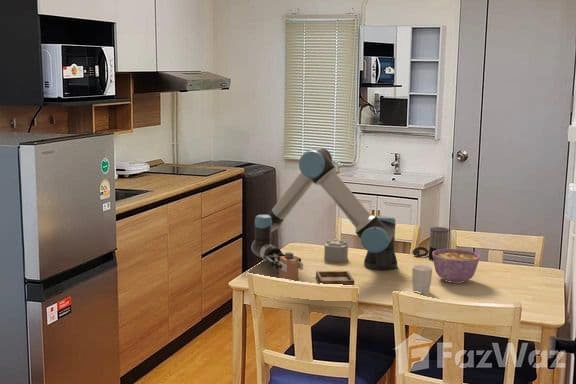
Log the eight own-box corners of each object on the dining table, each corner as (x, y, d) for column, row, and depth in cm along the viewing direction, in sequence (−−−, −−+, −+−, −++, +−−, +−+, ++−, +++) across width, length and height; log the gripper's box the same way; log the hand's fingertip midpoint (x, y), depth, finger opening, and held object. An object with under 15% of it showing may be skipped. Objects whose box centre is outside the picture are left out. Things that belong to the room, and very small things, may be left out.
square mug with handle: (291, 275, 310) (292, 255, 309) (299, 280, 303) (300, 259, 302) (279, 277, 308) (279, 256, 306) (287, 281, 301) (287, 261, 299)
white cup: (430, 295, 287) (432, 271, 286) (410, 293, 289) (412, 269, 287) (430, 289, 295) (432, 266, 293) (411, 288, 297) (412, 264, 295)
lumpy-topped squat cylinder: (322, 260, 336) (322, 242, 334) (329, 253, 348) (329, 236, 346) (343, 262, 333) (344, 244, 331) (350, 256, 345) (350, 238, 343)
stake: (290, 277, 308) (290, 252, 306) (292, 278, 306) (293, 253, 304) (284, 277, 307) (285, 252, 305) (287, 279, 305) (288, 254, 303)
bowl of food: (447, 271, 323) (449, 246, 321) (487, 281, 309) (489, 255, 307) (421, 279, 309) (422, 253, 307) (461, 290, 295) (463, 263, 293)
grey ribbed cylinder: (449, 262, 338) (451, 231, 335) (415, 261, 338) (417, 230, 336) (443, 254, 352) (445, 224, 349) (411, 253, 352) (412, 223, 350)
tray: (348, 276, 311) (348, 271, 310) (354, 286, 297) (354, 280, 297) (315, 276, 309) (316, 271, 309) (320, 286, 296) (320, 280, 295)
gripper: (291, 260, 326) (314, 273, 306) (250, 264, 317) (272, 278, 297) (291, 244, 325) (315, 256, 304) (251, 248, 316) (273, 261, 296)
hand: (294, 267), depth 301 cm, fingers open, 7 cm apart
